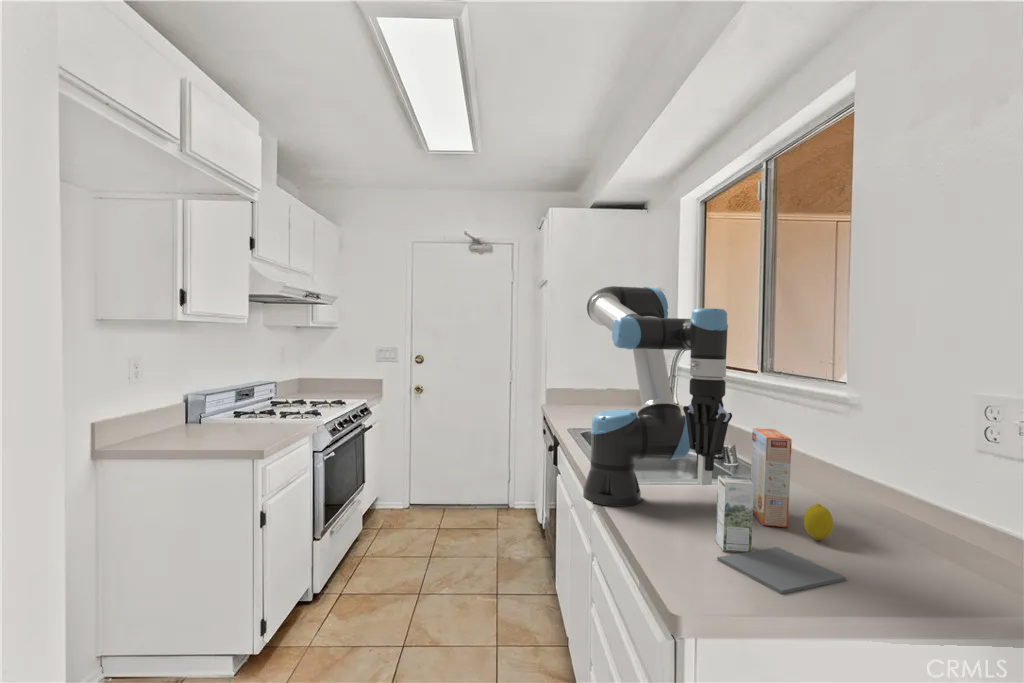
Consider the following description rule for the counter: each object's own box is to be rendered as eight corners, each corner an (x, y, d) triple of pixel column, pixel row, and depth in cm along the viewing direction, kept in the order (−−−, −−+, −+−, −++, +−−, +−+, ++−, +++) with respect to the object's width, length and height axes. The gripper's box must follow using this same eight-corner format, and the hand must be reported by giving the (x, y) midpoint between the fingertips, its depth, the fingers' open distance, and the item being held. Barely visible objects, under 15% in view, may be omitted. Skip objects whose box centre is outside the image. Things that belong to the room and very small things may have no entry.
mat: (717, 560, 108) (717, 557, 108) (777, 549, 114) (777, 546, 114) (781, 594, 94) (781, 590, 94) (846, 580, 100) (846, 576, 100)
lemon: (802, 534, 124) (804, 498, 124) (831, 538, 121) (832, 502, 121) (803, 542, 119) (804, 505, 119) (833, 547, 116) (834, 509, 116)
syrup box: (742, 543, 117) (745, 475, 117) (752, 554, 112) (754, 482, 111) (715, 541, 118) (717, 473, 118) (723, 552, 112) (725, 481, 112)
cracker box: (790, 528, 127) (793, 438, 127) (762, 526, 128) (764, 436, 128) (774, 510, 141) (776, 428, 141) (748, 508, 142) (751, 427, 142)
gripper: (674, 375, 127) (671, 478, 127) (715, 380, 115) (712, 493, 115) (700, 375, 130) (697, 475, 130) (743, 380, 118) (739, 490, 118)
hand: (704, 484), depth 123 cm, fingers closed
